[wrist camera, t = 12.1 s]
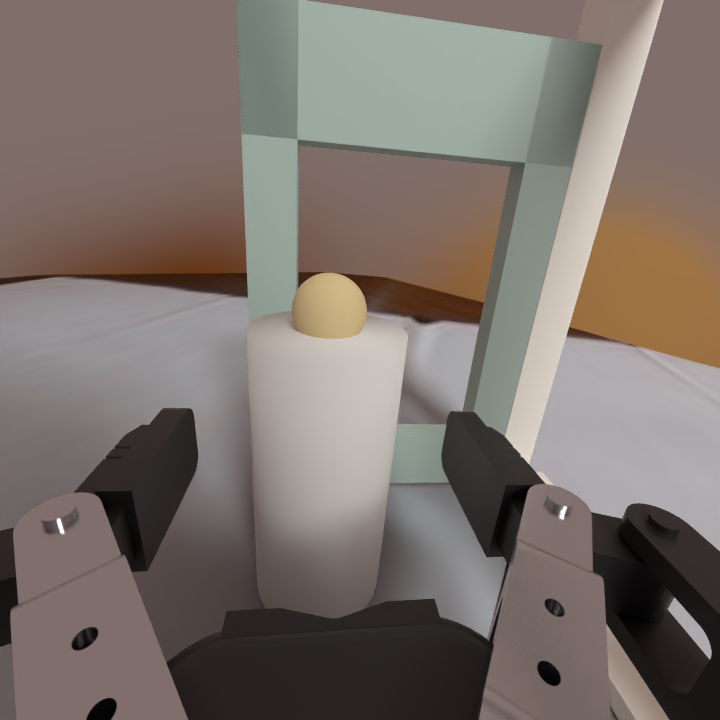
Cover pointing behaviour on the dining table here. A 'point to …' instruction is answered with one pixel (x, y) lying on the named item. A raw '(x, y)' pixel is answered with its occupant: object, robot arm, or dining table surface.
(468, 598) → the dining table surface
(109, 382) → the dining table surface
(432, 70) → the grey-green rectangular frame
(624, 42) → the door frame
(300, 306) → the white candle
